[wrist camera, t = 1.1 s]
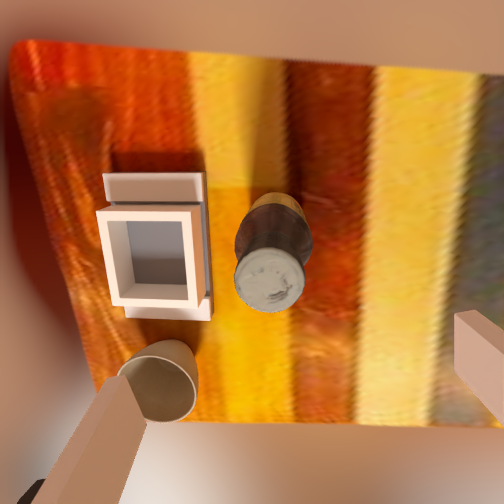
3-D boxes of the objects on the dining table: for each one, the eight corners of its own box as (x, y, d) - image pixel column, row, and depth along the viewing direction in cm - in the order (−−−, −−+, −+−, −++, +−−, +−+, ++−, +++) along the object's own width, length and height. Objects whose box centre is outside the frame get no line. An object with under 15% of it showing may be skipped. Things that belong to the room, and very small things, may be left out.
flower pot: (219, 338, 42) (207, 375, 36) (197, 391, 46) (182, 434, 39) (150, 312, 42) (125, 344, 35) (133, 367, 45) (107, 406, 38)
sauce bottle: (300, 243, 37) (320, 344, 18) (248, 240, 37) (215, 336, 19) (305, 188, 35) (333, 237, 16) (249, 185, 35) (214, 230, 16)
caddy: (205, 171, 35) (192, 175, 30) (214, 311, 41) (204, 335, 36) (113, 172, 36) (85, 176, 31) (134, 308, 42) (113, 331, 37)
